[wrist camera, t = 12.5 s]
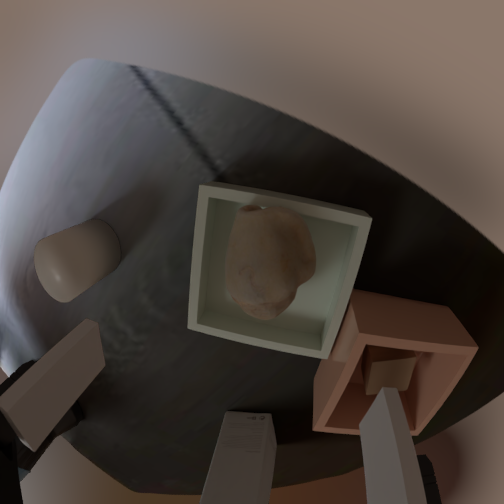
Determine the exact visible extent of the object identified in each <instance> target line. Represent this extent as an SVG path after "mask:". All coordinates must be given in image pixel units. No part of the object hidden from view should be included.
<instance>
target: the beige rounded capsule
mask: <svg viewBox="0 0 504 504" xmlns="http://www.w3.org/2000/svg"><path fill="white" fill-rule="evenodd" d="M120 258H121V248H120V244H119V240H118V238H117V236H116V234H115V232H114V231H113V229H112V228H111V227H110V226H109V225H108V224H107V223H105V222H104V221H102V220H99V219H91V220H88V221H86V222H83V223H80V224H78V225H75V226H73V227H70V228H68V229H65V230H63V231H60V232H58V233H55V234H53V235H50V236H48V237H46V238H43V239H41V240H40V241H39V242H38V243H37V245H36V247H35V251H34V265H35V270H36V273H37V276H38V278H39V280H40V282H41V284H42V286H43V287H44V289H45V290H46V292H47V293H48V294H49V295H50V296H51V297H52V298H54V299H55V300H57V301H59V302H63V303H67V302H70V301H71V300H73V299H74V298H75V297H77V296H78V295H80V294H81V293H82V292H84V291H85V290H87V289H88V288H90V287H91V286H92V285H94V284H95V283H97V282H98V281H100V280H101V279H103V278H104V277H106V276H107V275H108V274H110V273H111V272H113V271H114V270H115V269H116V268H117V267H118V265H119V262H120Z"/></svg>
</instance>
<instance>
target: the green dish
mask: <svg viewBox="0 0 504 504" xmlns="http://www.w3.org/2000/svg"><path fill="white" fill-rule="evenodd" d="M245 205H258V206H260V207H261V208H262V209H265V208H268V207H279V206H282V207H284V208H288V209H291V210H293V211H295V212H297V213H298V214H299V215H300V216H301V217H302V218H303V220H304V221H305V222H306V224H307V226H308V229H309V231H310V234H311V236H312V241H313V244H314V247H315V252H316V269H315V273H314V275H313V276H312V277H311V278H310V279H309V280H308V281H307V282H305V283H303V284H301V285H300V286H299V287H298V288H297V293H296V296H295V299H294V300H293V302H292V303H291V304H290V305H289V307H288V308H287V309H286V310H284V311H283V312H282V313H281V314H279V315H278V316H277V317H275V318H273V319H268V320H263V319H258V318H255V317H253V316H250V315H248V314H247V313H245V312H244V311H243V310H242V308H241V307H240V305H239V304H237V303H236V302H235V301H234V300H233V299H232V297H231V295H230V293H229V292H228V290H227V287H226V279H225V257H226V253H227V248H228V241H229V236H230V233H231V230H232V228H233V225H234V221H235V217H236V213H237V211H238V210H239V208H241V207H243V206H245ZM371 221H372V218H371V217H370V216H369V215H368V214H367V213H366V212H365V211H363V210H359V209H355V208H351V207H346V206H342V205H338V204H333V203H329V202H324V201H319V200H315V199H310V198H305V197H300V196H295V195H290V194H285V193H280V192H274V191H269V190H263V189H258V188H252V187H246V186H240V185H234V184H228V183H222V182H215V181H210V182H207V183H203V184H200V185H199V193H198V202H197V211H196V220H195V231H194V241H193V253H192V265H191V278H190V293H189V310H188V329H191V330H195V331H199V332H202V333H206V334H210V335H214V336H218V337H221V338H225V339H230V340H234V341H238V342H242V343H246V344H251V345H255V346H260V347H264V348H269V349H274V350H279V351H284V352H289V353H294V354H299V355H305V356H310V357H316V358H322V359H328V356H329V354H330V351H331V348H332V346H333V343H334V341H335V338H336V335H337V333H338V330H339V327H340V324H341V321H342V319H343V316H344V313H345V310H346V307H347V304H348V301H349V298H350V295H351V292H352V289H353V286H354V282H355V279H356V276H357V273H358V269H359V266H360V262H361V259H362V255H363V252H364V248H365V245H366V241H367V237H368V233H369V229H370V225H371Z"/></svg>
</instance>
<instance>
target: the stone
mask: <svg viewBox="0 0 504 504" xmlns="http://www.w3.org/2000/svg"><path fill="white" fill-rule="evenodd" d="M315 269H316V252H315V247H314V244H313V241H312V236H311V234H310V231H309V229H308V226H307V224H306V222H305V221H304V220H303V218H302V217H301V216H300V215H299V214H298V213H297V212H295V211H293V210H291V209H288V208H284V207H282V206H279V207H268V208H265V209H262V208H261V207H260V206H258V205H245V206H243V207H241V208H239V210H238V211H237V213H236V217H235V221H234V225H233V228H232V230H231V233H230V236H229V241H228V248H227V253H226V257H225V279H226V287H227V290H228V292H229V293H230V295H231V297H232V299H233V300H234V301H235V302H236V303H237V304H239V305H240V307H241V308H242V310H243V311H244V312H245V313H247V314H248V315H250V316H253V317H255V318H258V319H263V320H268V319H273V318H275V317H277V316H278V315H279V314H281V313H282V312H283V311H284V310H286V309H287V308H288V307H289V305H290V304H291V303H292V302H293V300H294V299H295V296H296V293H297V288H298V287H299V286H300V285H301V284H303V283H305V282H307V281H308V280H309V279H310V278H311V277H312V276H313V275H314V273H315Z"/></svg>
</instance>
